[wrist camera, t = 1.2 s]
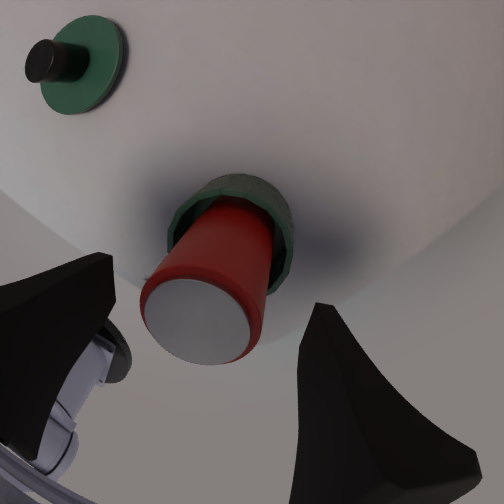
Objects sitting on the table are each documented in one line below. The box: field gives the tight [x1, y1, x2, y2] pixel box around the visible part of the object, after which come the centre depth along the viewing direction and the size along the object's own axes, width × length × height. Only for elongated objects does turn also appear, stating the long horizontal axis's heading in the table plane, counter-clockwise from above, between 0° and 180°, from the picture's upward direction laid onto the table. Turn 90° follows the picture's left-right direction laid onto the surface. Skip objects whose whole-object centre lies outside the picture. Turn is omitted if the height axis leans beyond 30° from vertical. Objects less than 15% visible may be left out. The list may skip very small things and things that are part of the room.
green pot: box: [167, 174, 294, 296], centre depth 15 cm, size 6×6×4 cm
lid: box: [25, 15, 123, 115], centre depth 11 cm, size 6×6×4 cm
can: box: [140, 195, 275, 365], centre depth 13 cm, size 4×4×8 cm
